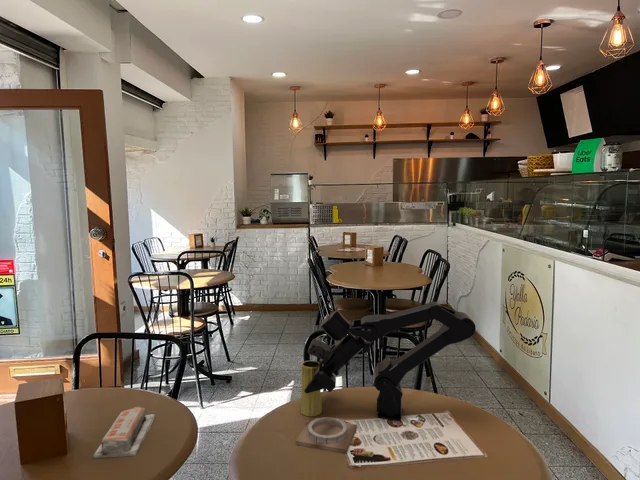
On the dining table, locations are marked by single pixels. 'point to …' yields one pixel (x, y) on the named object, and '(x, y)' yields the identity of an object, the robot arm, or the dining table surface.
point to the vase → (313, 399)
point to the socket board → (327, 434)
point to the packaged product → (125, 434)
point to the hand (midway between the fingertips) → (306, 387)
